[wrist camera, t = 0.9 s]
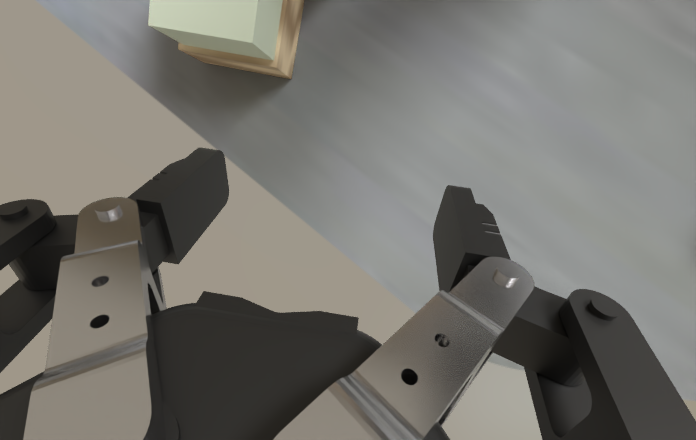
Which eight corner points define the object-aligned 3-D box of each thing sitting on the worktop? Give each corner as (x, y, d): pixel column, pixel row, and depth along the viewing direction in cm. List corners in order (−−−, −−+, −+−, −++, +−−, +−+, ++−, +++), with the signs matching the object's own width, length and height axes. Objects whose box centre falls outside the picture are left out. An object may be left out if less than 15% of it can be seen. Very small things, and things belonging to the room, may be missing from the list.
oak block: (217, -39, 37) (189, -70, 33) (309, -25, 36) (295, -54, 31) (205, 63, 40) (177, 49, 35) (292, 80, 38) (276, 67, 33)
